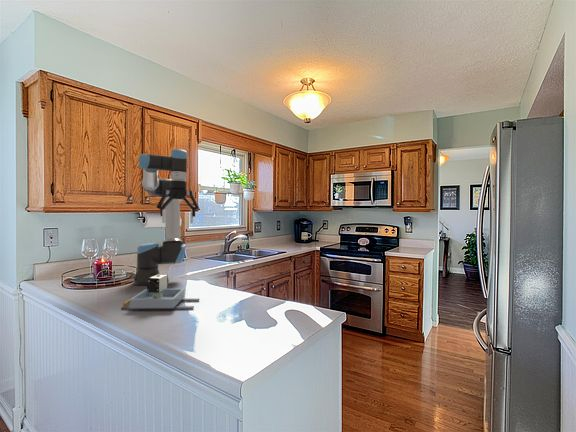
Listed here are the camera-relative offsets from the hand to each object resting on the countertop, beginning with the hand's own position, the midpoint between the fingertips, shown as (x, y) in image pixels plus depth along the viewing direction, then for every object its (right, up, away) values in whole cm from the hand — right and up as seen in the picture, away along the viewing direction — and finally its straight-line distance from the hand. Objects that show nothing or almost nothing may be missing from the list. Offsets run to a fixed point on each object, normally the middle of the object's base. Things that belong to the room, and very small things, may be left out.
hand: (177, 223), depth 155 cm
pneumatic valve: (-4, -35, -15) cm, 38 cm away
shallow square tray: (-3, -35, -15) cm, 39 cm away
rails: (-2, -37, -15) cm, 40 cm away
